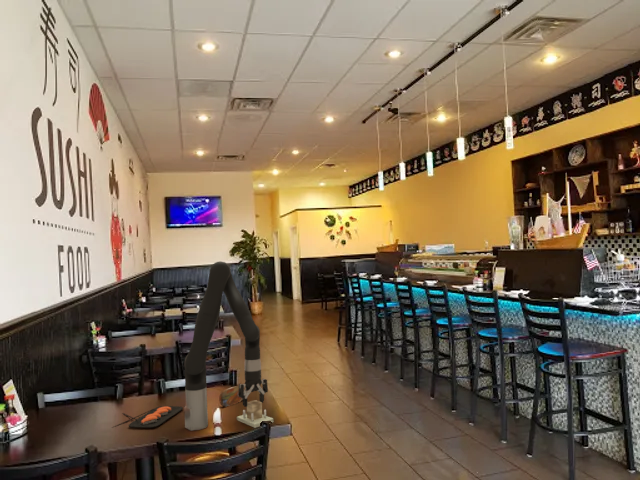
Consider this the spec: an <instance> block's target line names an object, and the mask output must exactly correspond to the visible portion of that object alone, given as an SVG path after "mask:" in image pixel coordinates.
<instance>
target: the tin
mask: <svg viewBox="0 0 640 480" xmlns="http://www.w3.org/2000/svg"><path fill="white" fill-rule="evenodd" d="M238 394H239V385H236V386H232V387H229V388H225V389H223V390H222V391H221V392H220V394H219V396H218V397H219V400H218V401H219V404H220V405H221V406H222V407H225V408H228V407H227V406H229V407H231V406H233V405H232V404H234V405H236V404H235V403H237V404H239V403H241V402H243V399H242V398H240V397H239V396H238ZM238 402H239V403H238ZM230 405H231V406H230Z"/></svg>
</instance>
